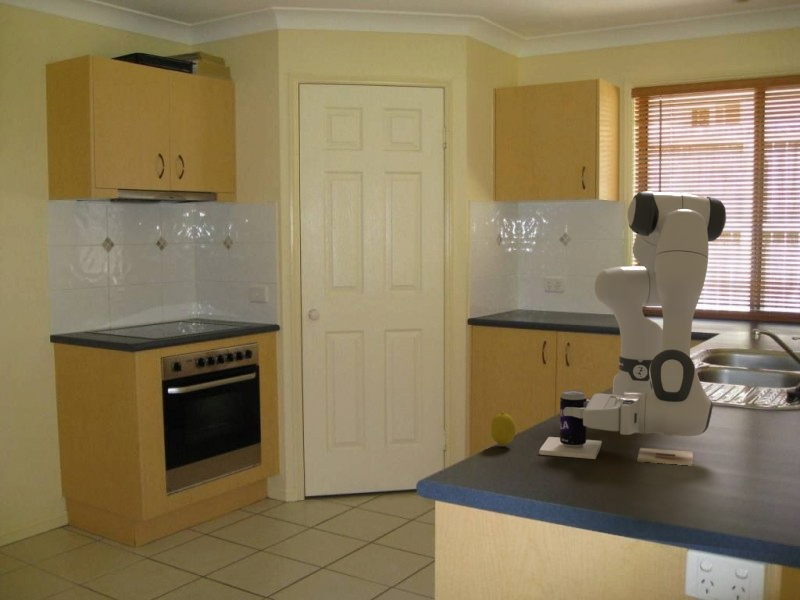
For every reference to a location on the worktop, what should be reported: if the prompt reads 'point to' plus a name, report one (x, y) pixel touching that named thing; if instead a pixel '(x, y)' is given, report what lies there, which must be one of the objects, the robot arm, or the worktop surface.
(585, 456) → the mat
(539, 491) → the worktop surface
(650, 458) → the pad
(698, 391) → the robot arm
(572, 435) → the beverage can
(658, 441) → the worktop surface
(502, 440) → the lemon
